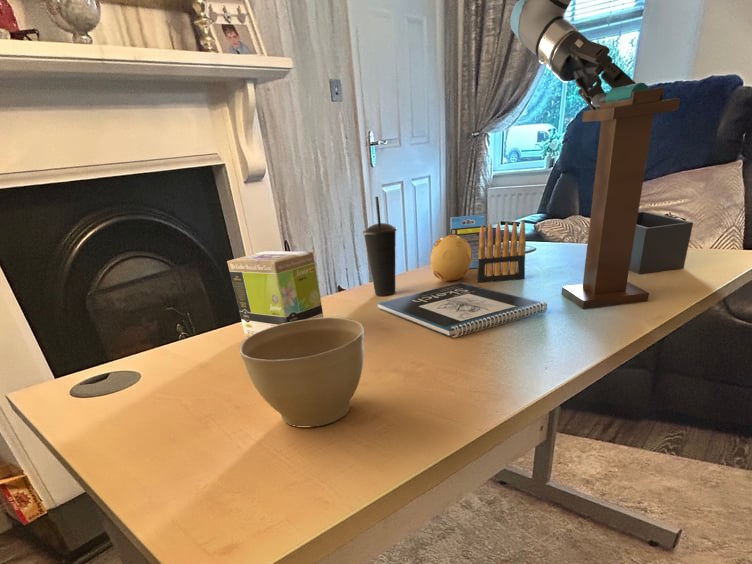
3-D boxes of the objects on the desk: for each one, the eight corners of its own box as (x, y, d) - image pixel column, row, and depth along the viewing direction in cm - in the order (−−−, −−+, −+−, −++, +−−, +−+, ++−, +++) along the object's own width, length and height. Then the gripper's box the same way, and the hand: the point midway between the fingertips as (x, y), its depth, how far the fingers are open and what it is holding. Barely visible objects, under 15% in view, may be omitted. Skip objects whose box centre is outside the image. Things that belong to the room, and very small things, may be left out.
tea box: (327, 330, 106) (314, 250, 98) (290, 346, 101) (273, 262, 92) (280, 322, 115) (264, 248, 107) (243, 336, 110) (224, 259, 101)
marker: (587, 111, 98) (588, 93, 96) (601, 108, 97) (602, 90, 96) (629, 105, 83) (631, 84, 81) (646, 101, 83) (649, 80, 81)
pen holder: (599, 256, 131) (604, 216, 126) (638, 251, 131) (644, 211, 126) (638, 274, 114) (646, 228, 109) (683, 268, 113) (693, 222, 108)
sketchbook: (460, 288, 122) (460, 279, 121) (549, 313, 99) (550, 302, 98) (377, 308, 116) (376, 298, 114) (452, 340, 93) (452, 328, 91)
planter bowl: (274, 394, 81) (257, 323, 75) (377, 387, 79) (369, 312, 73) (244, 444, 69) (221, 363, 62) (366, 437, 66) (355, 352, 60)
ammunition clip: (524, 277, 123) (527, 219, 116) (524, 279, 122) (527, 220, 115) (477, 280, 125) (477, 224, 119) (477, 282, 124) (477, 225, 117)
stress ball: (425, 280, 132) (423, 235, 126) (462, 273, 133) (462, 229, 128) (439, 287, 124) (438, 240, 118) (478, 280, 125) (478, 233, 120)
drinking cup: (397, 287, 129) (390, 193, 118) (404, 294, 123) (397, 195, 111) (367, 292, 129) (356, 198, 117) (372, 299, 122) (362, 200, 111)
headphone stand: (560, 293, 108) (578, 100, 90) (619, 286, 108) (648, 90, 90) (583, 310, 98) (609, 95, 80) (649, 301, 97) (689, 83, 79)
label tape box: (485, 264, 139) (486, 211, 132) (485, 268, 135) (486, 213, 128) (452, 267, 141) (450, 215, 133) (451, 270, 137) (449, 217, 130)
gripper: (559, 107, 123) (617, 165, 117) (539, 20, 101) (609, 87, 95) (587, 78, 120) (648, 136, 114) (573, -18, 98) (647, 49, 92)
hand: (630, 114), depth 105 cm, fingers open, 13 cm apart
